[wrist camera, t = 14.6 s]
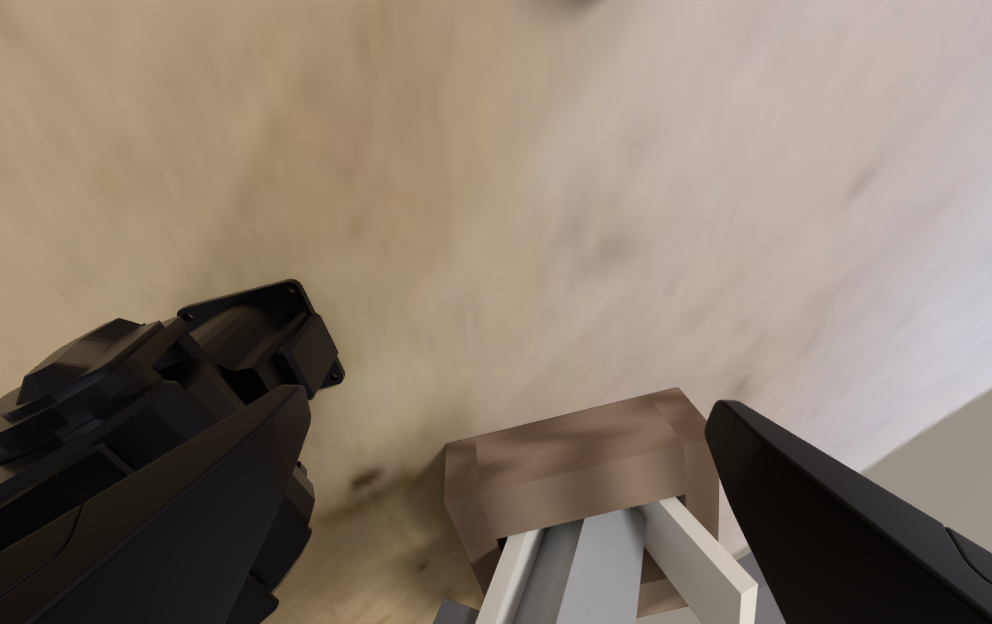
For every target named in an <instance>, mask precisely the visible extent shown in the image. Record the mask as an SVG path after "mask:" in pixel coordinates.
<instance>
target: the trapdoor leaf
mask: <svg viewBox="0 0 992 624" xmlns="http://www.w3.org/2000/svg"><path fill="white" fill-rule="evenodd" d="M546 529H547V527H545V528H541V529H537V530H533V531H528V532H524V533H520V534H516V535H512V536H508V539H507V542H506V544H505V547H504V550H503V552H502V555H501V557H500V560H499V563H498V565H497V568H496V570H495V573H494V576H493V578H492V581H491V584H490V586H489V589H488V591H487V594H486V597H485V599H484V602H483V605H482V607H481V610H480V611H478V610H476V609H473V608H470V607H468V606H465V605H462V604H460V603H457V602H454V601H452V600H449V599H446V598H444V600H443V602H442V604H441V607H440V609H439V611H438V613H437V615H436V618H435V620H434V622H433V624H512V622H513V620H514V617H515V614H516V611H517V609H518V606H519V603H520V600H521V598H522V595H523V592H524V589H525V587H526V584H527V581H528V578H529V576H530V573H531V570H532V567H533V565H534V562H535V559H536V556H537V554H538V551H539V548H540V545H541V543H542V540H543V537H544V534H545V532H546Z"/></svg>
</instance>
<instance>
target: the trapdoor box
mask: <svg viewBox="0 0 992 624" xmlns="http://www.w3.org/2000/svg"><path fill="white" fill-rule="evenodd" d="M706 422H707V421H706V419H705V418H704V417H703V416H702V415H701V413H700V412H699V411H698V410H697V409H696V408H695V406H694V405H693V404H692V403H691V402H690V400H689V399H688V398H687V397H686V396H685V395H684V393H683V392H682V391H681V390H680V389H679V388H678V387H677V388H673V389H669V390H665V391H661V392H657V393H653V394H649V395H644V396H640V397H636V398H632V399H628V400H624V401H620V402H616V403H612V404H608V405H604V406H599V407H595V408H591V409H587V410H583V411H579V412H575V413H571V414H567V415H563V416H558V417H554V418H550V419H546V420H542V421H538V422H534V423H530V424H526V425H522V426H518V427H513V428H509V429H505V430H501V431H497V432H493V433H489V434H485V435H481V436H477V437H473V438H468V439H464V440H460V441H456V442H452V443H448V444H446V465H445V486H444V505H445V507H446V509H447V511H448V514H449V516H450V518H451V521H452V523H453V525H454V527H455V530H456V532H457V534H458V536H459V539H460V541H461V543H462V546H463V548H464V550H465V552H466V555H467V557H468V559H469V562H470V564H471V566H472V568H473V571H474V573H475V575H476V578H477V580H478V582H479V584H480V587H481V589H482V591H483V593H484V596H485V597H486V594H487V591H488V589H489V586H490V584H491V581H492V578H493V576H494V573H495V570H496V568H497V565H498V563H499V560H500V557H501V555H502V552H503V550H504V547H505V544H506V542H507V539H508V536H512V535H516V534H520V533H524V532H528V531H533V530H537V529H541V528H545V527H550V526H554V525H558V524H562V523H567V522H571V521H575V520H579V519H583V518H588V517H592V516H596V515H600V514H605V513H609V512H613V511H617V510H622V509H626V508H630V507H634V506H639V505H643V504H647V503H651V502H655V501H660V500H664V499H668V498H672V497H676V498H677V499H678V500H679V502H680V503H681V504H682V505H683V506H684V507H685V508H686V509H687V510H688V511H689V512H690V513H691V514H692V515H693V516H694V517H695V518H696V519H697V520H698V521H699V523H700V524H701V525H702V526H703V527H704V528H705V529H706V530H707V531H708V532H709V533H710V534H711V535H712V536H713V537H714V538H715V539H716V540H717V541H718V519H719V475H718V472H717V469H716V467H715V464H714V461H713V458H712V455H711V453H710V450H709V447H708V444H707V442H706V439H705V434H704V429H705V425H706ZM683 607H688V604H687V603H686V602H685V600H684V599H683V598H682V596H681V595H680V594H679V592H678V591H677V590H676V588H675V587H674V586H673V584H672V583H671V582H670V580H669V579H668V578H667V576H666V575H665V574H664V572H663V571H662V570H661V568H660V567H659V566H658V564H657V563H656V562H655V560H654V559H653V558H652V556H651V555H650V554H649V552H648V551H647V550H646V548H645V547H644V550H643V560H642V569H641V578H640V588H639V597H638V606H637V616H636V618H640V617H644V616H648V615H653V614H657V613H661V612H666V611H670V610H674V609H679V608H683Z"/></svg>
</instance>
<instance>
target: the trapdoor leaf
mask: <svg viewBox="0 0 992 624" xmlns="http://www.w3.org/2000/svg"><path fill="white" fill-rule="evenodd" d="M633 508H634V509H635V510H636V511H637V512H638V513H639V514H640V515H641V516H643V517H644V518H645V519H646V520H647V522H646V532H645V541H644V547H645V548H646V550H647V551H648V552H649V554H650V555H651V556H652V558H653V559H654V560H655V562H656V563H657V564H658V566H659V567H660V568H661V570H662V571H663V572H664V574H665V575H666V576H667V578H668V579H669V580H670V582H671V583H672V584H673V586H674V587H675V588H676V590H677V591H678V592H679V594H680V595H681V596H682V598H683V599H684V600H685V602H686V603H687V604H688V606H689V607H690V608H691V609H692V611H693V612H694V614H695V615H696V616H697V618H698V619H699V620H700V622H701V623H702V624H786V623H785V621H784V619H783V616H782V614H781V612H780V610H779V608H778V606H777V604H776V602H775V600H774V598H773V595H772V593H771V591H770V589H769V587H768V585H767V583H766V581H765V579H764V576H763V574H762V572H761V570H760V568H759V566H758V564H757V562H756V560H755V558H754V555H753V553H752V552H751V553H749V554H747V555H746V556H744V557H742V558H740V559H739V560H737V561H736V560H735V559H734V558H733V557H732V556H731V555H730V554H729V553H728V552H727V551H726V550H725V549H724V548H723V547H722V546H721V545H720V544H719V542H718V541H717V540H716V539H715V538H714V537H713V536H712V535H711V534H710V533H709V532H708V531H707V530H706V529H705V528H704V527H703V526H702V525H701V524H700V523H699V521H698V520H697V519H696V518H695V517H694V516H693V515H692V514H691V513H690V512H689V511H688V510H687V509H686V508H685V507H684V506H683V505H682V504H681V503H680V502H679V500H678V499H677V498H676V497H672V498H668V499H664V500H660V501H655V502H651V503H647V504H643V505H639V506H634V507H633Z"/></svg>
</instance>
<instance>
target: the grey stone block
mask: <svg viewBox="0 0 992 624" xmlns="http://www.w3.org/2000/svg"><path fill="white" fill-rule="evenodd" d="M646 522H647V520H646V519H645V518H644V517H643V516H641V515H640V514H639V513H638V512H637V511H636V510H635V509H634V508H633V507H630V508H626V509H622V510H617V511H613V512H609V513H605V514H600V515H596V516H592V517H588V518H583V519H579V520H575V521H571V522H567V523H562V524H558V525H554V526H550V527H547V529H546V532H545V534H544V537H543V540H542V543H541V545H540V548H539V551H538V554H537V556H536V559H535V562H534V565H533V567H532V570H531V573H530V576H529V578H528V581H527V584H526V587H525V589H524V592H523V595H522V598H521V600H520V603H519V606H518V609H517V611H516V614H515V617H514V620H513V622H512V624H636V616H637V606H638V597H639V588H640V578H641V569H642V560H643V550H644V541H645V532H646Z"/></svg>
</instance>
